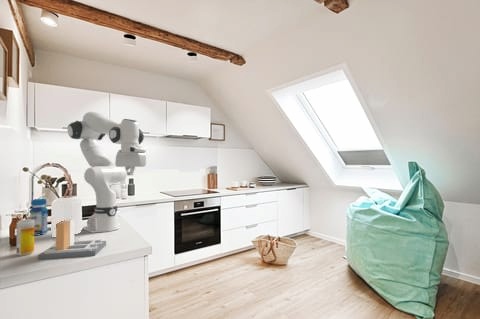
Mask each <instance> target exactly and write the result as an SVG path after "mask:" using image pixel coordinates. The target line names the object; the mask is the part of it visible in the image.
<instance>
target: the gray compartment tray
mask: <svg viewBox="0 0 480 319" xmlns="http://www.w3.org/2000/svg"><path fill="white" fill-rule="evenodd" d="M64 221H69V248H67V249H66V250H56V243H55V244H54V245H53V246H51V247H49V248H47V249H45V250H44V251H42V252H40V253H38V255H37V259H38V260H50V259H51V260H53V259H65V258H81V257H82V258H83V257H93V256H94V257H95V256H96V255H97V254H98V253H100V252H101V251H102V250H103V249H104V248H105V247H106V246H107V240H102V239H87V240H75V218H72V219H67V220H64Z"/></svg>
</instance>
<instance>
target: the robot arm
mask: <svg viewBox="0 0 480 319" xmlns="http://www.w3.org/2000/svg"><path fill="white" fill-rule="evenodd" d="M139 126H140V125H139V122H138V121H137V120H135V119H130V118H123V119H121V122H120V123H118V122H117V121H115V120H113V119H111V118H109V117H107V116H105V115H103V114H101V113H99V112H95V111H89V112H86V113H84V114H83V117H82V120H81V121H79V120H75V121H74V122H73V121H72V122H71V123H69V124H68V126H67V134H68V136H69V137H70V138H71V139H74V140H81V141H80V142H79V147H80V151H81V152H82V155H83V157H84V159H85V160H86V162H87V163H88V165H89V166H90V167H88V168H87V169H86V170H85V171H84V175H83V177H84V178H83V179H84V181H85V182H86V183H87V184H88V185H90V187H92V188H93V191H94V193H95V202H96V206H95V207H94V208H93V210H94V212H93V214H92V215H90V217H89V218H87V221H86V224H87V225H86V226H83V227H82V230H84V231H86V232H88V233H91V234H93V233H104V232H105V233H106V232H107V233H108V232H111V231H116V230H118V229H120V227H121V224H120V220H119V219H120V218H119V213H118V205H117V193H116V191H114V190H112V189H111V188H110V184H118V183H121V182H124V181H125V180H126V179H127V176H134V172H135V170H136V167H138V168H140V167H142V168H144V167H145V166H146V164H147V156H146V155H147V154H146V151H147V149H146V148H145V147H142V146H140V145H141V144H142V142H144V139H145V138H144V137H145V135H144V133H143V131H142V130H141V129H140V128H139ZM106 135H108V138H109V140H110V141H111V143H113V144H117V145H120V149H119V150H118V151H117V152H116V155H115V162H114V161H113V160H112V159H110V158H109V157H108V156H107V154H106V153H105V152H104V150H103V149H102V147H101V146H100V145H101V144H100V143H99V141H101V140H103V138H104V137H105V136H106Z"/></svg>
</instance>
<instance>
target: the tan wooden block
mask: <svg viewBox="0 0 480 319" xmlns="http://www.w3.org/2000/svg"><path fill="white" fill-rule="evenodd" d="M55 244H56V250H66V249H67V248H69V221H61V222H59V223H57V224H56V228H55Z"/></svg>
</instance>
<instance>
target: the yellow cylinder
mask: <svg viewBox="0 0 480 319" xmlns="http://www.w3.org/2000/svg"><path fill="white" fill-rule="evenodd" d="M34 252H35V236H34V220H33V219H30V218H28V219H27V218H26V219H20V220H18V221H17V222H16V255H17V256H18V255H19V257H23V256H24V257H25V256H30V255H31V254H33V253H34Z"/></svg>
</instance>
